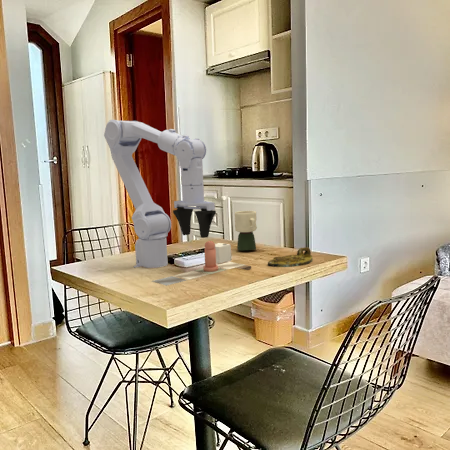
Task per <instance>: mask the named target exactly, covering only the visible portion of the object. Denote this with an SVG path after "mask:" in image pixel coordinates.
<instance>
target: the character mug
mask: <svg viewBox="0 0 450 450" xmlns="http://www.w3.org/2000/svg"><path fill="white" fill-rule="evenodd" d="M257 228H258V226H257V211H256V210H240V211H235V212H234V230H235V232H237V233H238V236H237V246H236V247H237V248H236V249H237V251H247V252H250V251H255V250H256V249H257V245H256V244H257V243H256V238H255V235H254V232H255V231H256V230H257Z"/></svg>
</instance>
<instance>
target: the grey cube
mask: <svg viewBox="0 0 450 450" xmlns="http://www.w3.org/2000/svg"><path fill="white" fill-rule="evenodd" d="M215 248H216V264H218V263H222V262H232V244H229V243H222V242H218V243H215Z"/></svg>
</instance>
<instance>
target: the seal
mask: <svg viewBox="0 0 450 450" xmlns="http://www.w3.org/2000/svg"><path fill="white" fill-rule="evenodd" d="M313 260H314V259H313V255H312V253H311V248H310V247H306V246H304V247H300V248H298V249H297V252H296V254H289V255H284V256H275V257H273V258H272V259H270V260H269V261H267V266H268V267H276V268H292V267H293V268H295V267H300V266H306V265H310V264H311V263H313Z"/></svg>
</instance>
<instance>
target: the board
mask: <svg viewBox="0 0 450 450" xmlns="http://www.w3.org/2000/svg"><path fill="white" fill-rule="evenodd" d="M217 265H218V271H214V272H206V271H204V270H203V268H200V269H199V268H198V269H195V270H191V271H186V272H183V273H179V274H174V275H171V276H167V277H163V278H159V279H154V280H152V281H151V283H155V284H160V285H163V286H166V287H167V286H170V285H174V284H178V283H181V282H185V281H188V280H193V279H197V278H200V277H201V278H202V277H205V276H208V275H212V274H216V273H220V272H223V271H228V270H231V269H238V270H244V271H249V270H251V269H252V266H251V265H246V264H243V263H240V262H239V263H238V262H233V261H227V262H222V263H217Z"/></svg>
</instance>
